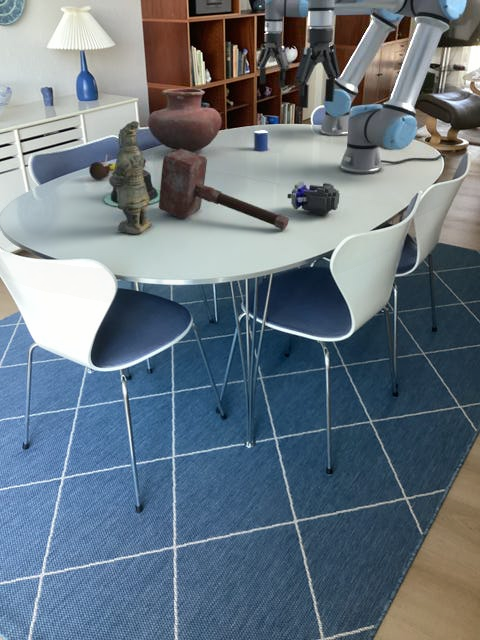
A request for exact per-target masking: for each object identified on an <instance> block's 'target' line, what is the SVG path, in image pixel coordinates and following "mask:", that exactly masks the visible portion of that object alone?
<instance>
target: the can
mask: <svg viewBox="0 0 480 640" xmlns="http://www.w3.org/2000/svg"><path fill="white" fill-rule="evenodd" d="M268 133H269V132H268V130H255V131H254V132H253V149H254V151H256V152H266V151H268V149H269V148H268V142H269V140H268V139H269V137H268V135H269V134H268Z"/></svg>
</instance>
